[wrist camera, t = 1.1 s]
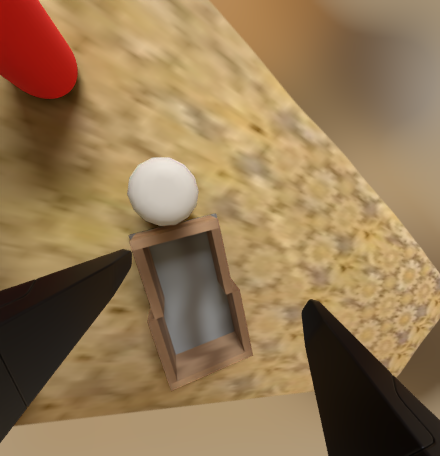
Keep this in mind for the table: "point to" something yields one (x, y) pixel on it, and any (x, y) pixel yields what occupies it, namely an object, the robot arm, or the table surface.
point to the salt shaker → (163, 191)
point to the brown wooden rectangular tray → (191, 299)
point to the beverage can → (34, 51)
